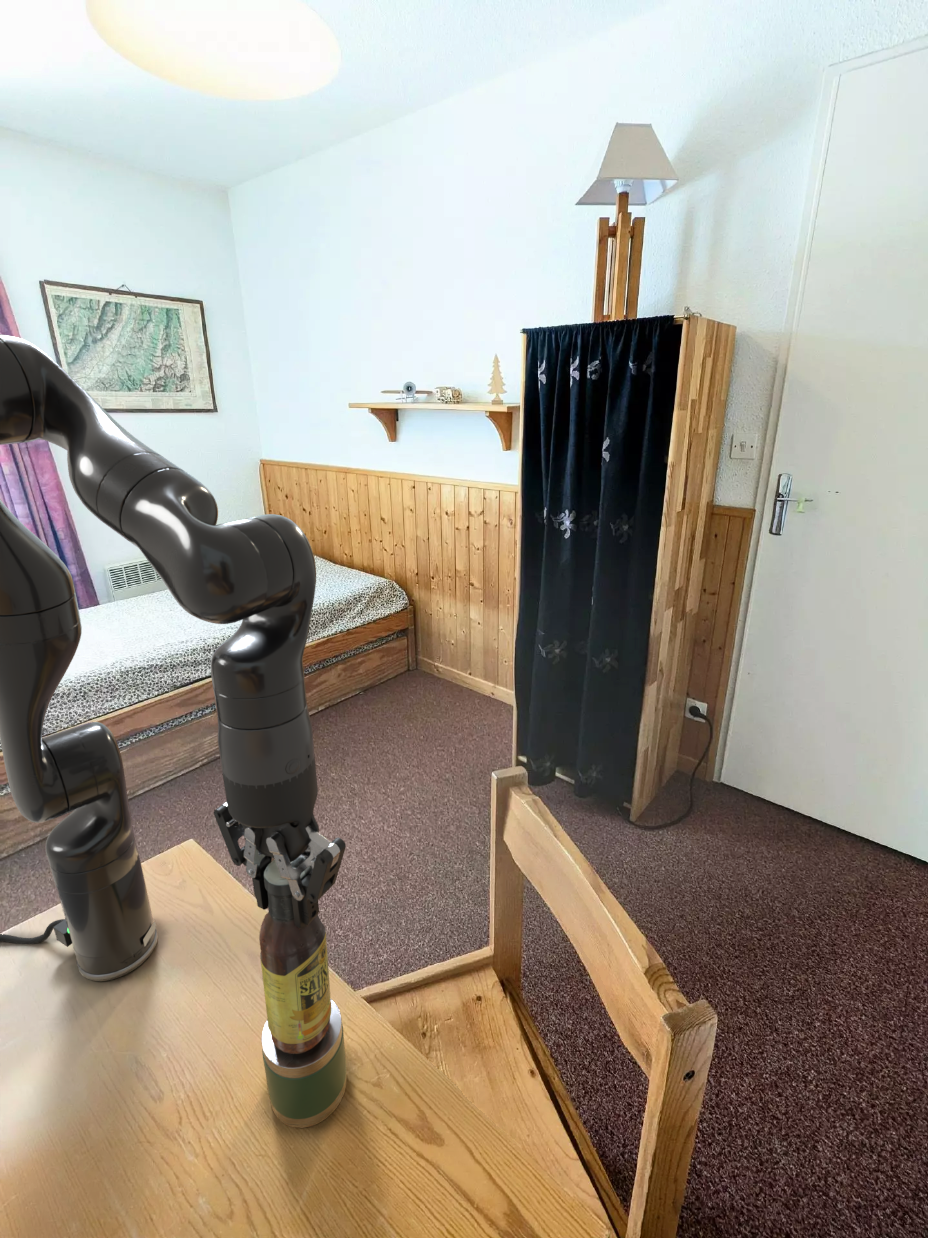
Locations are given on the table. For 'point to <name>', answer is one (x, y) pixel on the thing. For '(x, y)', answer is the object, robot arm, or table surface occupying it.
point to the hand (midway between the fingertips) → (287, 911)
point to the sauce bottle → (293, 971)
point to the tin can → (307, 1076)
